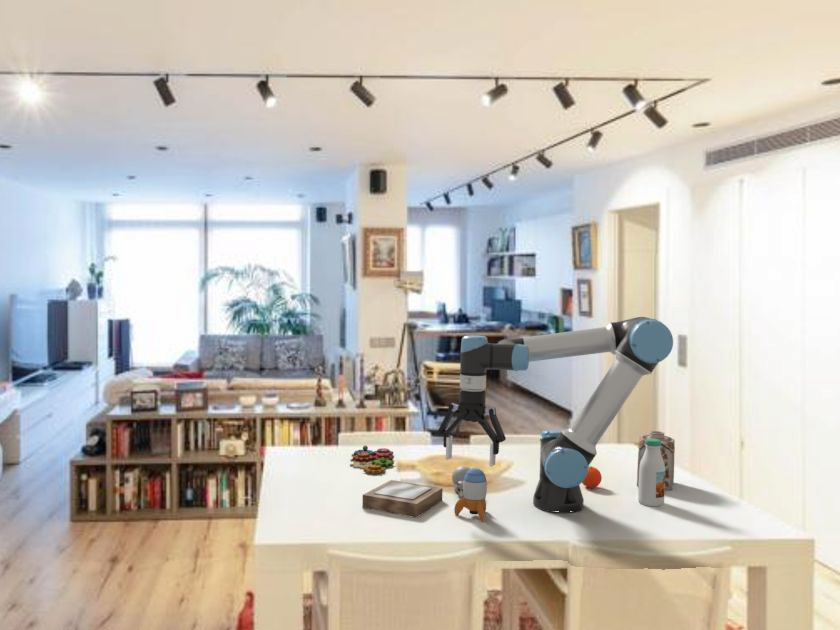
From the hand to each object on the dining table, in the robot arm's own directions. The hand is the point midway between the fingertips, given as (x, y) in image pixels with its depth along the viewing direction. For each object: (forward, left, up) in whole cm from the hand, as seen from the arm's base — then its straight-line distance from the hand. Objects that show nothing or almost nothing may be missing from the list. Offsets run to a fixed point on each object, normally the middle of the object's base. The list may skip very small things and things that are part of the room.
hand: (470, 462), depth 216 cm
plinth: (+22, 0, -16) cm, 27 cm away
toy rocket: (0, 0, -16) cm, 16 cm away
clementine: (-24, -46, -16) cm, 55 cm away
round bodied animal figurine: (+10, -18, -16) cm, 26 cm away
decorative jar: (-43, -60, -16) cm, 76 cm away
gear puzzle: (+53, -37, -17) cm, 67 cm away
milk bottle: (-45, -38, -16) cm, 61 cm away
